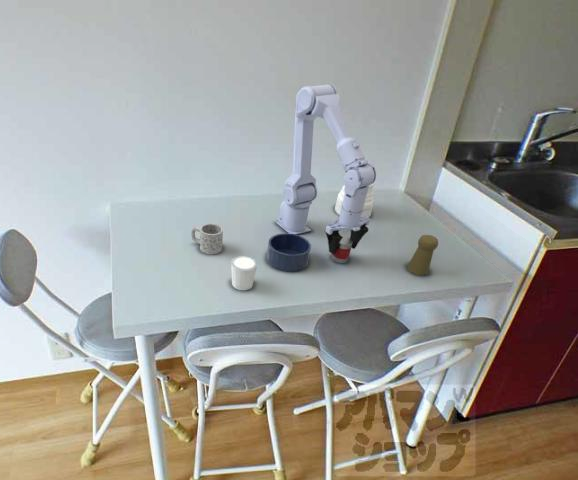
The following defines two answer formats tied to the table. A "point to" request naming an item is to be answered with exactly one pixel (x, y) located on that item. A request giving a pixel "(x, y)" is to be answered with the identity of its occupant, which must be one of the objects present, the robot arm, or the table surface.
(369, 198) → the honey pot
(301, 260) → the dark blue round bowl
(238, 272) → the white tapered cylinder
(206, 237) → the mug
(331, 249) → the robot arm
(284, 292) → the table surface
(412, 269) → the cork
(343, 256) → the can
